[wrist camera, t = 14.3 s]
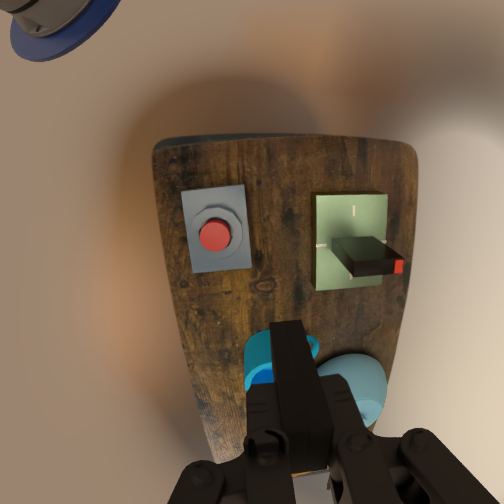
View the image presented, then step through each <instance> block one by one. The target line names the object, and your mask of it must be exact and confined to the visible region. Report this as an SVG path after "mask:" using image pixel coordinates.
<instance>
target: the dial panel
mask: <svg viewBox="0 0 504 504" xmlns="http://www.w3.org/2000/svg"><path fill="white" fill-rule="evenodd" d="M387 201H388V194H385V193H382V192H379V191H371V192H312V193H311V207H312V274H311V283H312V285H313V287H314V289H315V291H322V290H333V289H344V288H355V287H365V286H375V285H382V276H383V275H376V276H365V277H353V276H352V275H351V274H350V273H349V271H348V270H347V269H346V268H345V267H344V265H343V264H342V263H341V262H340V261H339V259H338V258H337V257H336V256H335V255H334V254H333V252H332V251H331V246H332V238H346V237H365V236H374V237H375V238H377V239H378V240H380V241H381V242H382V243H384V244H385V243H387V240H386V225H387Z"/></svg>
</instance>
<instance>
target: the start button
mask: <svg viewBox="0 0 504 504" xmlns="http://www.w3.org/2000/svg"><path fill="white" fill-rule="evenodd" d="M230 235H231V232H230V228H229V226H228V225H227V224H226V223H225V222H224V221H222V220H219V219H213V220H210V221H208V222H207V223H205V225H204V226H203V228H202V230H201V232H200V241H201V244H202V245H203V246H204V247H205V248H206V249H207V250H210V251H214V252H217V251H221V250H223V249H224V248H226V246H227V245H228V244H229V241H230Z"/></svg>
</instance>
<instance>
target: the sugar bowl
mask: <svg viewBox="0 0 504 504" xmlns="http://www.w3.org/2000/svg"><path fill="white" fill-rule="evenodd" d="M317 371H318V374H319V376H325V375H331V374H338V373H339V374H340V375H341V376H342V377H343V378H345V379H346V380H347V382H348V384H349V387H350V389H351V392H352V394H353V396H354V399H355V401H356V404H357V406H358V409H359V411H360V414H361V416H362V419H363V421H364V424H365V426H366V428H367V427H368V426H370V425H371V424H372V423H374V422H375V421H376V420H377V418H378V417H379V415H380V414H381V412H382V409H383V406H384V403H385V399H386V394H387V381H386V376H385V372H384V370H383V368H382V366H381V364H380V363H379V362H378V361H377V360H375V359H374V358H372V357H370V356H368V355H364V354H346V355H341V356H338V357H335V358H332V359H330V360H329V361H327V362H325V363H324V364H322V365H321V366H320V367H319V368H317Z"/></svg>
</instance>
